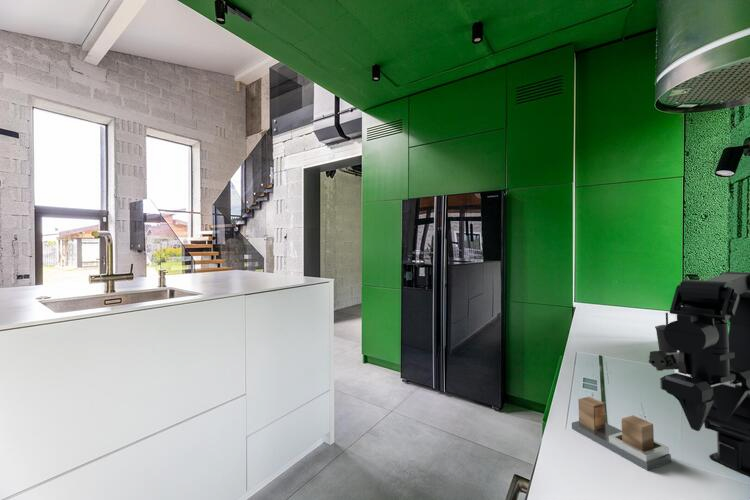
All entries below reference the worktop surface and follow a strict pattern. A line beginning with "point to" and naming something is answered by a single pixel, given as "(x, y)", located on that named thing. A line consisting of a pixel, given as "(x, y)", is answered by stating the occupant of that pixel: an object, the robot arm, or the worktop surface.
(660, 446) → the grey base plate
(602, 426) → the brown wooden block
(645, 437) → the tan wooden block
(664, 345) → the drinking cup
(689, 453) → the worktop surface
